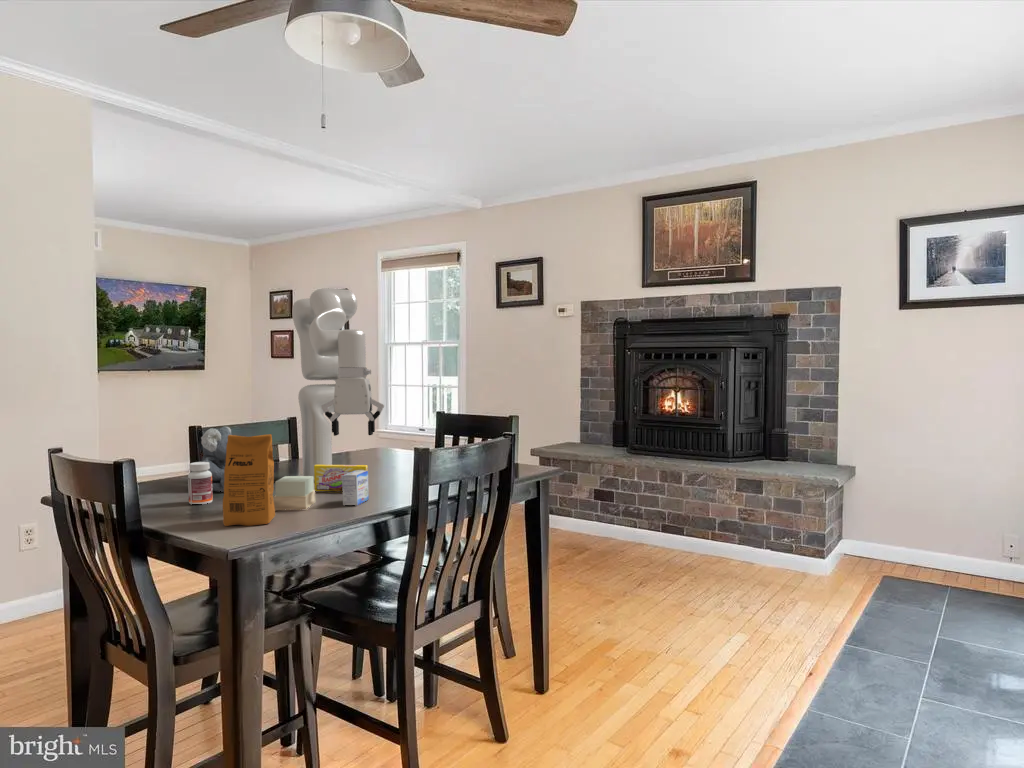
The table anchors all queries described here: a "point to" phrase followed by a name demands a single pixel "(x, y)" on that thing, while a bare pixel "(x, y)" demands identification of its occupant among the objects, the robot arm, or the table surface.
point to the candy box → (333, 476)
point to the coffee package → (248, 481)
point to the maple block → (294, 501)
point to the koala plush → (216, 454)
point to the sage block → (294, 486)
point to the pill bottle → (200, 483)
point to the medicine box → (355, 487)
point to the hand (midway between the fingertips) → (353, 435)
